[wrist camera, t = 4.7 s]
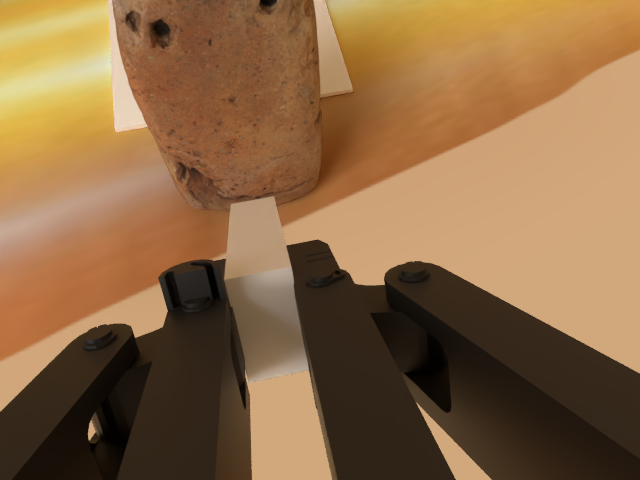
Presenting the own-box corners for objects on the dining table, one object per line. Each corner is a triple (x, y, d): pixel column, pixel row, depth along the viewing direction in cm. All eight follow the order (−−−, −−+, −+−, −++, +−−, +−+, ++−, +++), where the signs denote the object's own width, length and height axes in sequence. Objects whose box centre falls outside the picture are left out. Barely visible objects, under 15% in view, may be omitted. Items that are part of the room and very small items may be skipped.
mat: (116, 132, 41) (114, 129, 40) (109, 2, 47) (108, -1, 47) (352, 92, 43) (353, 88, 42) (315, -28, 49) (315, -31, 49)
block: (305, 125, 41) (293, -149, 23) (327, 202, 38) (333, -46, 20) (174, 151, 40) (54, -116, 22) (185, 232, 37) (56, -1, 19)
